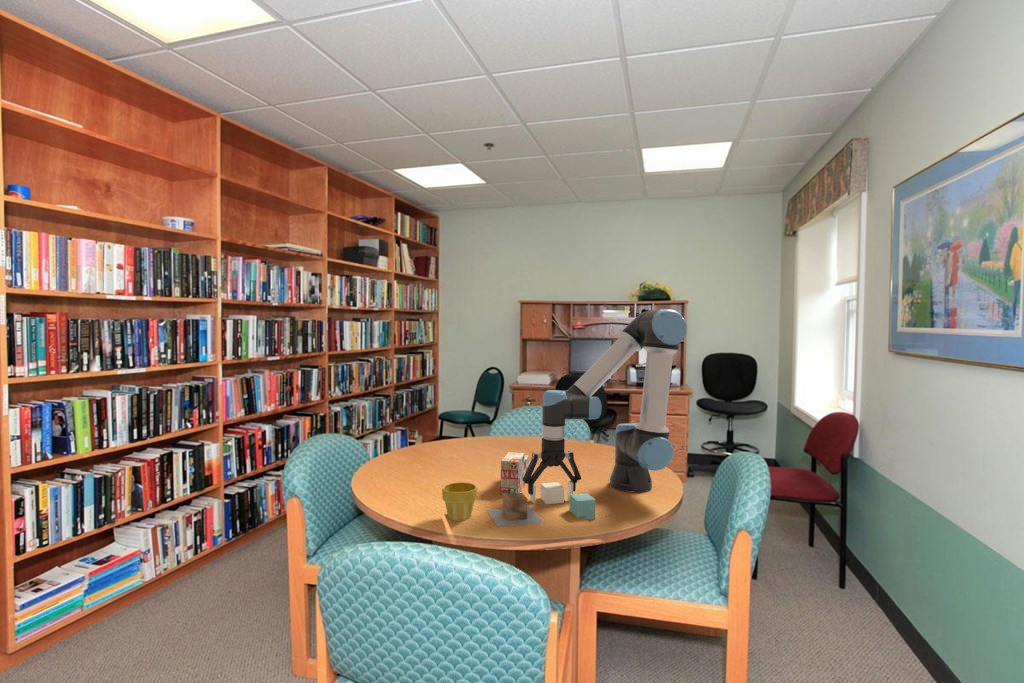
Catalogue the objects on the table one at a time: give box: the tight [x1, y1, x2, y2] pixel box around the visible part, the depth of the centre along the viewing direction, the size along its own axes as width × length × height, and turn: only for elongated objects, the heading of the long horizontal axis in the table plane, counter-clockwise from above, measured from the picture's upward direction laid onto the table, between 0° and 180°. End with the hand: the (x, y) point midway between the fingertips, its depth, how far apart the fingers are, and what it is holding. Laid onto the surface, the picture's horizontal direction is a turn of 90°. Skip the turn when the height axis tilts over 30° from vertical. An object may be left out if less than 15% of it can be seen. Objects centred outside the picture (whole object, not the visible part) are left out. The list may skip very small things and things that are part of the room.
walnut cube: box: [501, 492, 529, 521], centre depth 152 cm, size 6×6×6 cm
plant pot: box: [441, 481, 478, 522], centre depth 151 cm, size 10×10×10 cm
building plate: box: [486, 506, 545, 528], centre depth 152 cm, size 14×14×1 cm
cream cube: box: [539, 481, 565, 505], centre depth 167 cm, size 6×6×6 cm
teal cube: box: [568, 492, 597, 521], centre depth 155 cm, size 6×6×6 cm
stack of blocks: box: [499, 451, 530, 496], centre depth 183 cm, size 21×6×12 cm, turn 168°
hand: (551, 502), depth 167 cm, fingers open, 12 cm apart
